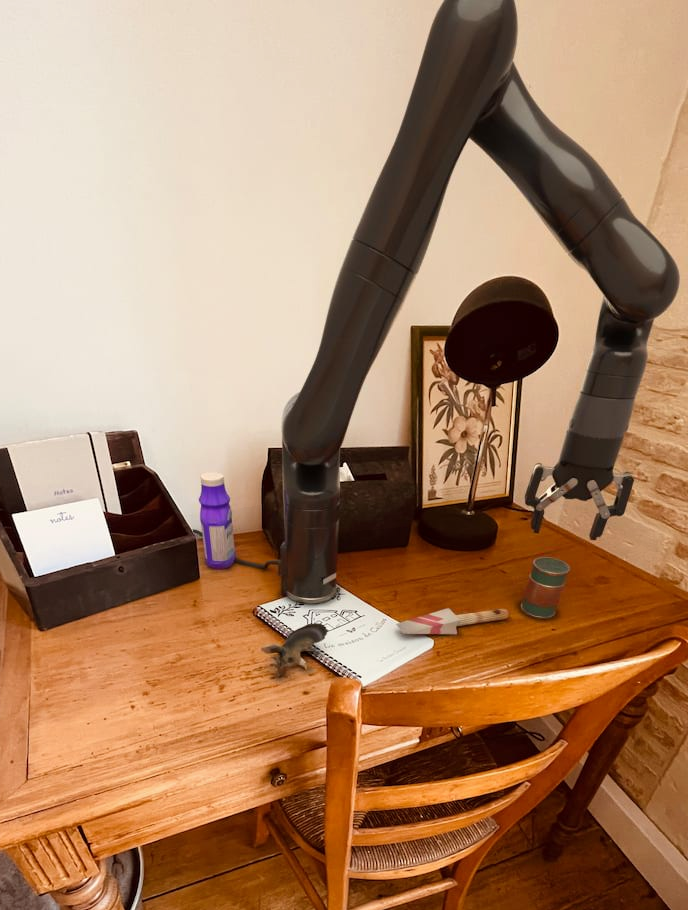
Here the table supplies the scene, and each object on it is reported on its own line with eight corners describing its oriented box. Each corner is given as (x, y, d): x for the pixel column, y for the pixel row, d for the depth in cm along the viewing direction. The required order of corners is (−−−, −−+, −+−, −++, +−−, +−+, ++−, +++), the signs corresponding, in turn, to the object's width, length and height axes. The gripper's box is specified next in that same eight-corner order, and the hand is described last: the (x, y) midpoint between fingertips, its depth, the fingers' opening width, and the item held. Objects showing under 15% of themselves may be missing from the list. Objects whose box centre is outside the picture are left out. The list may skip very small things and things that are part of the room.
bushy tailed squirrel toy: (312, 684, 73) (339, 641, 78) (283, 646, 70) (313, 605, 75) (276, 689, 78) (303, 648, 83) (247, 654, 75) (277, 614, 80)
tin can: (520, 616, 91) (534, 570, 85) (519, 599, 95) (532, 555, 90) (555, 622, 89) (571, 575, 84) (553, 604, 94) (568, 559, 89)
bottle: (232, 572, 100) (224, 482, 90) (202, 571, 100) (191, 481, 90) (238, 554, 106) (231, 469, 96) (210, 553, 106) (200, 468, 96)
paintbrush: (395, 614, 84) (501, 601, 90) (393, 628, 86) (496, 615, 92) (405, 627, 81) (514, 613, 87) (403, 641, 83) (509, 627, 89)
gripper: (645, 426, 75) (607, 531, 85) (542, 418, 78) (516, 520, 88) (657, 440, 70) (615, 551, 79) (545, 430, 72) (517, 538, 82)
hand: (563, 534), depth 83 cm, fingers open, 8 cm apart
